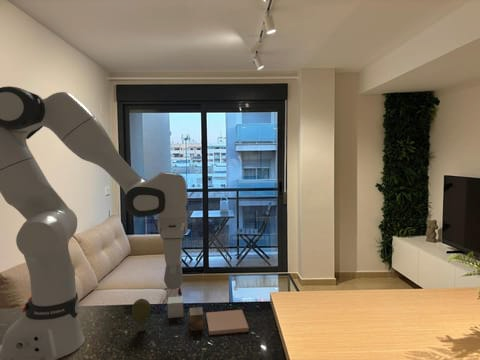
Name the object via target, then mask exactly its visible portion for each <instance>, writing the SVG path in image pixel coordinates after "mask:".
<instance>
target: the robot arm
mask: <svg viewBox="0 0 480 360" xmlns="http://www.w3.org/2000/svg"><path fill="white" fill-rule="evenodd" d="M43 127H44V128H47V129H48V130H50V131H51V132H52V133H53V134H54V135H56V137H57V138H58V139H59V140H60V141H61V142H62V144H63V145H65V147H67V149H69V150H70V151H71V152H72V153H73V154H74V155H76V156H77V157H78V158H79V159H81V160H83V161H86V162H89V163H92V164H95V165H96V166H99V167H100V168H101V169H102V170H104V171H105V172H106V173H107V174H108V175H109V176H110V177H111V178H112V179H113V181H115V182H116V183H117V184H118V185H119V186H120V187H121V189H122V190H123V192H124V194H125V196H124V199H123V204H124V208H125V209H126V211H127V213H128V214H129V215H131V216H133V217H136V218H147V217H151V216H155V215H157V233H159V235H160V238H161V239H162V247H163V253H164V260H165V266H166V265H167V266H170V273H171V274H174V273H176V265H178V264H179V261H180V262H181V250H182V242H183V241H182V240H183V238H184V237H185V234H186V233H187V232H188V211H187V204H188V188H187V181H186V178H185V177H184V176H182V174H179V173H176V172H172V171H160V172H159V173H158V174H157V175H155V176H153V177H151V178H149V179H148V180H147V179H146V178H143V177H141V176H140V175H139V174H138V173H137V172H136V171H135V169H133V168H132V167H131V166H130V164H129V163H127V161H126V160H125V159H124V158H123V157H122V156H121V154H120V153H119V151H118V149H117V148H116V146H115V144H114V142H113V141H112V139H111V138H110V135H109V133H108V132H107V130H106V129H105V128H104V126H103V125H102V124H101V122H100V121H99V120H98V119H97V117H95V115H94V114H93V113H92V112H91V111H90V110H89V109H88V108H87V107H86V106H85V105H84V104H83V103H82V102H81V101H79V100H78V99H77V98H75V97H74V96H73V95H72V94H71V93H69V92H65V91H60V92H54V93H53V94H51V95H49V96H47V97H45V98H42V97H41V96H40V95H38V94H35V93H34V92H30V91H28V90H26V89H23V88H20V87H17V86H9V85H8V86H7V85H6V86H2V87H0V194H1V196H2V197H3V199H4V201H5V202H6V203H7V204H8V205H10V206H11V207H13V208H14V209H15V210H17V211H18V213H20V215H22V217H23V218H24V219H25V220H26V221H24V222H23V224H22V226H20V229H19V230H18V232H17V234H16V237H15V243H16V247H17V248H18V251H19V252H20V253H21V254H22V255H23V257H24V260H25V263H26V267H27V269H28V274H29V280H30V282H29V283H30V292H31V294H30V295H31V296H30V297H29V298H28V299H27V302H26V303H24V306H23V307H22V308H21V309H22V313H24V314H23V315H22V316H21V317H20V318H18V319H17V320H16V321H15V322H14V323H13V324H11V325H10V326H9V327H8V329H7V330H6V331H5V332H4V335H3V338H2V343H1V344H0V360H58V359H61V358H63V357H65V356H68V355H70V354H72V353H74V352H75V351H77V350H78V349H80V348H81V347H82V346H83V344H84V343H85V341H86V338H85V336H84V333H83V330H82V327H81V323H80V318H79V312H80V304H79V303H80V300H79V296H78V292H77V288H76V287H77V286H76V268H75V266H74V264H73V261H72V258H71V254H70V249H69V242H70V240H71V239H72V238H73V236H74V235H75V234H76V231H77V229H78V218H77V215H76V213H75V212H74V211H73V209H71V208H70V207H69V206H68V205H67V204H66V202H65V201H64V200H63V198H62V197H61V195H59V194H58V193H57V192H56V191H55V189H54V188H53V187H52V185H51V184H50V182H49V181H48V179H47V177H46V176H45V174H44V173H43V170H42V169H41V167H40V165H39V164H38V162H37V160H36V158H35V157H34V155H33V153H32V151H31V150H30V148H29V145H28V143H27V140H29V139H31V138H32V137H33V136H34V135H35V134H36V133H37V132H39V131H40V130H41V129H42V128H43Z"/></svg>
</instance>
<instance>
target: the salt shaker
mask: <svg viewBox="0 0 480 360" xmlns="http://www.w3.org/2000/svg"><path fill="white" fill-rule="evenodd" d="M182 271H183V270H182V266H181V260H180V261H179V264H178V265H176V273H174V274H171V273H170V266H167V265H166V264H165V270H164V277H163V281H164V284H165V285H166V288H167V289H168V290H177V289H180V287H181V285H182V283H183V281H184V276H183V272H182Z"/></svg>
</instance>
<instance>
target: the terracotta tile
mask: <svg viewBox="0 0 480 360" xmlns="http://www.w3.org/2000/svg"><path fill="white" fill-rule="evenodd" d="M205 316H206V322H207V324H206V325H207V330H208V335H209V336H213V335H214V336H215V335H224V334H225V335H226V334H235V333H245V332H249V330H250V329H249V324H248V321H247V319H246V317H245V314H244V311H243V309H234V310H223V311H222V310H221V311H209V312H206V313H205Z"/></svg>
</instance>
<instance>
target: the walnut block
mask: <svg viewBox="0 0 480 360" xmlns="http://www.w3.org/2000/svg"><path fill="white" fill-rule="evenodd" d="M189 327H190V328H189V329H190V332H193V331H204V311H203V307H202V306H199V307H189Z"/></svg>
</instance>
